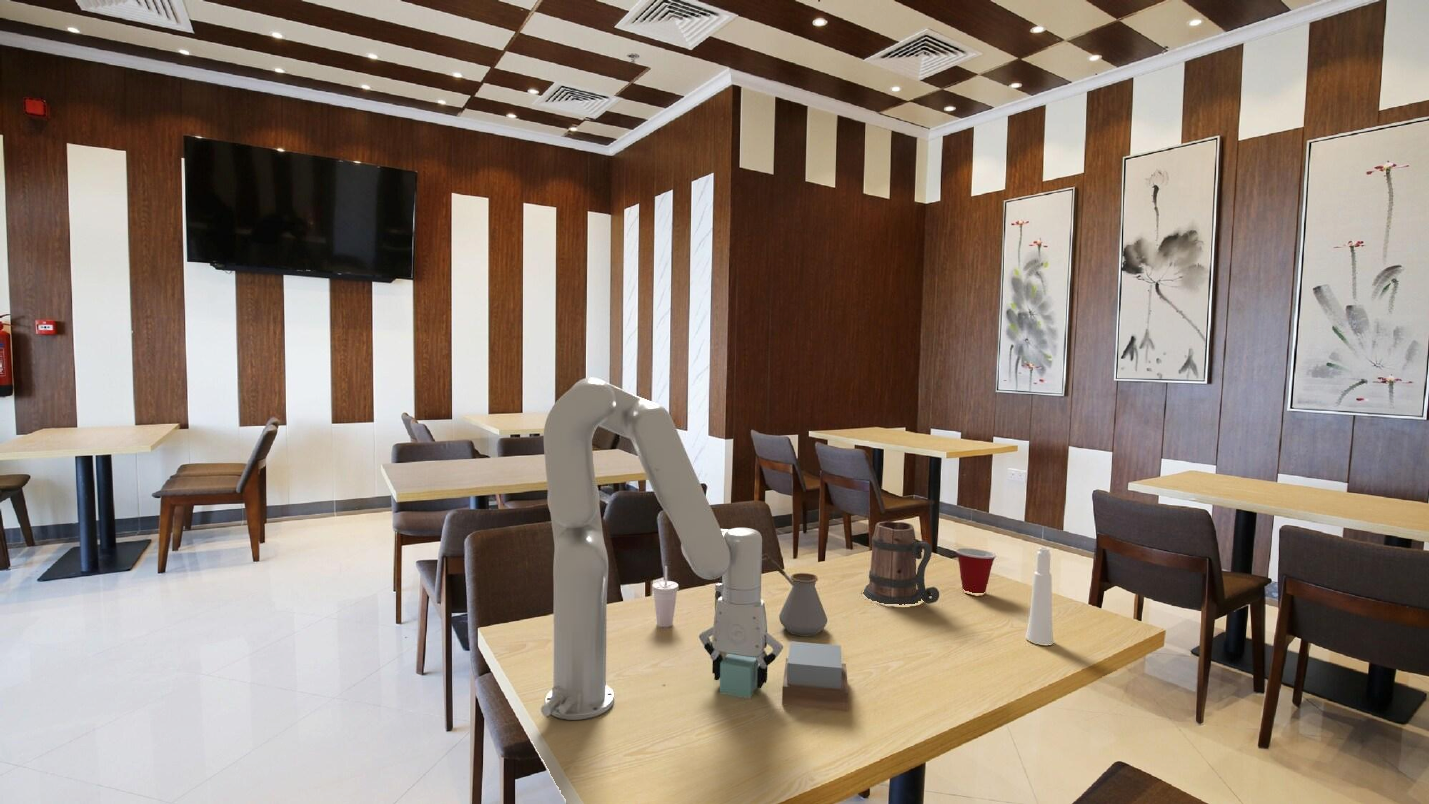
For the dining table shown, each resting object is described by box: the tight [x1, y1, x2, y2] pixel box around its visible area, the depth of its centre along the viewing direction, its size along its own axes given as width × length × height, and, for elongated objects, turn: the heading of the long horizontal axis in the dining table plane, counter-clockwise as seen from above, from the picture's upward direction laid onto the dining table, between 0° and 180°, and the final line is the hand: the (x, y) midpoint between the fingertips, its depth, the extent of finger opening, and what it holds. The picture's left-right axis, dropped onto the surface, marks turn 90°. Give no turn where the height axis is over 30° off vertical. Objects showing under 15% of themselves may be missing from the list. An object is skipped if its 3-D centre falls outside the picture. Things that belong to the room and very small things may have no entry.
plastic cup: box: [955, 547, 997, 593], centre depth 188 cm, size 11×11×12 cm
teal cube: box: [719, 653, 759, 699], centre depth 130 cm, size 6×6×6 cm
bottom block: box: [781, 657, 849, 712], centre depth 129 cm, size 12×12×4 cm
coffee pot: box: [762, 552, 828, 637], centre depth 163 cm, size 21×12×15 cm, turn 34°
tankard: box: [863, 521, 940, 605], centre depth 180 cm, size 24×17×20 cm
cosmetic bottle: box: [1025, 546, 1055, 645], centre depth 155 cm, size 6×6×22 cm
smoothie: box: [651, 565, 680, 628], centre depth 161 cm, size 6×6×14 cm
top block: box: [787, 640, 843, 689], centre depth 129 cm, size 10×10×4 cm
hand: (739, 680), depth 130 cm, fingers open, 8 cm apart
